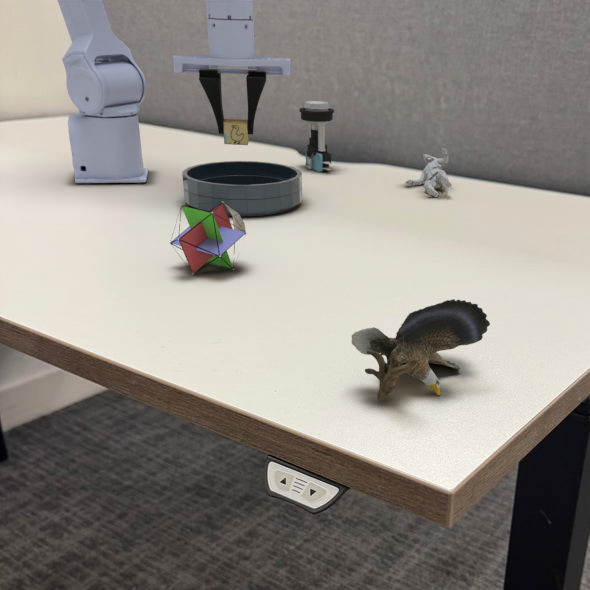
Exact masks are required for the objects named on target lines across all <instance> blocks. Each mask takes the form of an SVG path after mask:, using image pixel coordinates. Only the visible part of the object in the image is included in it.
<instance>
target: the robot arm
mask: <svg viewBox="0 0 590 590" xmlns="http://www.w3.org/2000/svg"><path fill="white" fill-rule="evenodd" d="M57 3H58V6H59V9H60V11H61V15H62V17H63V20H64V23H65V27H66V29H67V32H68V34H69V37H70V40H71V44H70V46H69V47H68V49H67V50H66V52H65V54H64V55H63V57H62V59H61V61H62V63H63V66H64V69H65V75H66V81H65V82H66V91H67V93H68V96H69V99H70V100H71V102H72V104H74V107H76V108H77V109H78V111H79V113H69V114H68V117H67V127H68V138H69V143H70V144H69V145H70V152H71V159H72V167H73V172H74V183H75V184H119V183H120V184H121V183H122V184H123V183H124V184H127V183H129V184H131V183H137V184H138V183H146V182H147V179H148V175H149V168H147V167H144V158H143V151H142V150H143V149H142V142H141V141H142V140H141V130H140V123H139V122H140V121H139V114H138V113H139V112H141V104H142V103H143V102H144V100H145V98H146V96H147V80H146V77H145V74H144V72H143V71H142V69H141V68H140V67H139V65H138V64H137V62H136V61H135V60H134V57H133V55H132V52H131V49H130V47H128V46H127V44H125V43H124V42H123V41H122V40H120V39H119V38H118V37H117V36H116V35H115V34H114V32H113V30H112V27H111V23H110V20H109V18H108V14H107V11H106V8H105V4H104V2H103V0H57ZM205 8H206V26H207V39H208V41H207V42H208V54H207V55H206V54H202V55H201V54H200V55H197V54H195V55H193V54H192V55H191V54H188V55H186V54H174V55H173V56H172V62H173V72H174V74H184V73H190V74H191V73H192V74H195V73H196V74H197V73H198V80H199V83H200V86H201V87H202V89H203V91H204V93H205V95H206V97H207V99H208V101H209V104H210V107H211V109H212V112H213V115H214V118H215V121H216V125H217V131H218V134H220V135H224V125H223V121H224V119H225V116H224V109H223V96H222V95H223V94H222V74H230V75H231V74H233V75H246V77H245V78H246V79H245V81H246V82H245V83H246V96H247V98H246V99H247V120H248V122H247V129H248V135H254V127H255V126H254V125H255V118H256V115H257V114H256V113H257V110H258V106H259V101H260V99H261V96H262V93H263V91H264V88H265V86H266V84H267V83H266V82H267V76H268V75H269V76H282V77H291V72H292V71H291V58H281V57H280V58H279V57H263V56H256V41H255V20H254V19H255V18H254V17H255V16H254V0H205ZM219 67H240V69H238V68H236V69H235V68H219ZM241 67H244V68H245V67H247V69H244V68H243V69H241Z"/></svg>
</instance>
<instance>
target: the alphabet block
mask: <svg viewBox="0 0 590 590" xmlns="http://www.w3.org/2000/svg"><path fill="white" fill-rule="evenodd" d="M247 122H248V119H240V118H239V119H238V118H234V119H233V118H224V121H223V125H224V134H223V144H224V145H234V146H249V142H250V141H249V134H248V129H247Z"/></svg>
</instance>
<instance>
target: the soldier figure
mask: <svg viewBox="0 0 590 590" xmlns="http://www.w3.org/2000/svg"><path fill="white" fill-rule="evenodd" d="M441 150H442V151H441V154H443V157H441V158H438V157H435V156H432V155H430V154H428V153H427V154H426V153H425V154H422V158H423V160H424V161H425V162H424V163H425V165H424V168H423V170H422V172H421V173H420V177H419V179H407V180H406V181H405V183H404V184H405V185H406V184H407V186H408V187H409V186H421V185H423V187H424V189H425V191H426V193H427V194H428V196H432V197H434V198H438V197H440V194H439V192H438V191H437V190H438V189H439V188H440V187H441V186H443V185H445V186H446V187H447V188H451V187H452V183H451V181H450V180H449V178H448V175H447V173H446V170H443V167H444V166H446V165H447V164H448V163H449V159H450V157H449V156H450V155H449V152H448V149H447V148H445V147H443V148H441Z"/></svg>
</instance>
